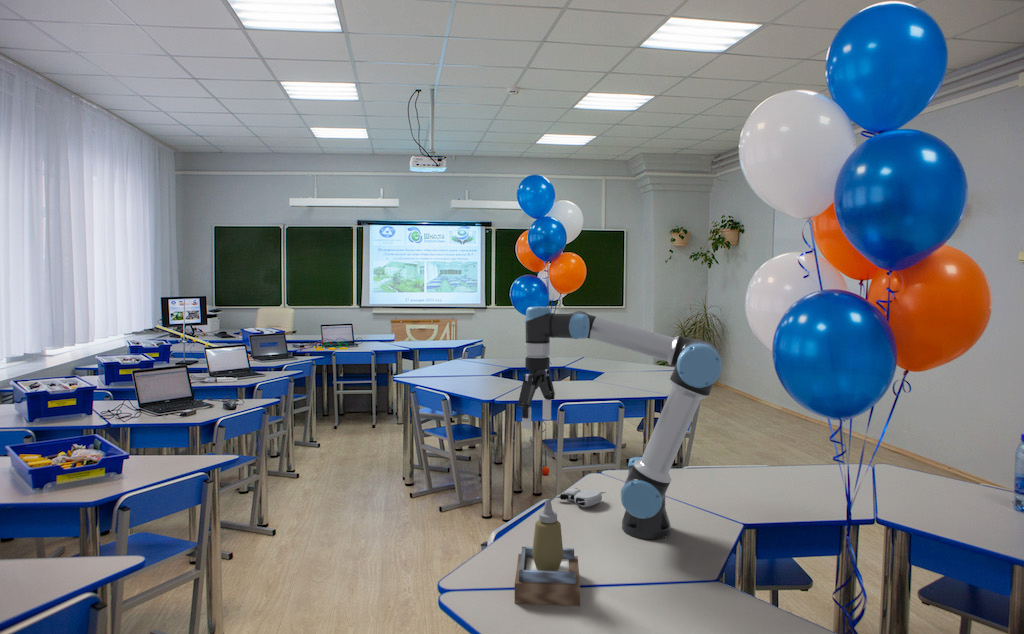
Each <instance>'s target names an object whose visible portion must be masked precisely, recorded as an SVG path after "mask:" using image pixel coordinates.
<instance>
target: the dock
mask: <svg viewBox="0 0 1024 634" xmlns="http://www.w3.org/2000/svg"><path fill="white" fill-rule="evenodd" d="M532 550H533V546H521V552H520V553H518V556H517V564H516V570H515V580H514V604H523V605H524V604H525V605H527V604H528V605H548V606H549V605H550V606H551V605H552V606H572V607H574V606H575V607H581V579H580V569H579V567H580V566H579V557H578V555H575V548H574V547H573V548H572V547H571V548H570V547H569V548H568V547H563V558H562V561H561V564H560V567H559V569H558V570H557V571H539V570H538V569H537V568H536V565H535V562H534V559H533V555H532Z"/></svg>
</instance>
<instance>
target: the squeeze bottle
mask: <svg viewBox="0 0 1024 634" xmlns="http://www.w3.org/2000/svg"><path fill="white" fill-rule="evenodd" d="M561 525H562V524H561V522H560V521H559V520H558V513H557V512H556V511H554V510H553V506H552V501H551V499H550V498H546V499H545V502H544V507H543V510H542V511H541V510H540V512H539V513H538V520H537V521H535V525H534V531H533V532H534V535H533V543H532V547H533V550H532V555H533V559H534V562H535V565H536V568H537V569H538V570H539V571H557V570H558V569H559V567H560V564H561V561H562V558H563V548H564V546H563V535H562V526H561Z"/></svg>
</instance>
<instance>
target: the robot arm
mask: <svg viewBox="0 0 1024 634" xmlns="http://www.w3.org/2000/svg"><path fill="white" fill-rule="evenodd" d="M524 323H525V346H524V348H525V355H526V357H525V361H524V362H525V363H524V364H525V369H527V370H528V371H529V372H528V373H524V374H523V379H522V385H521V389H520V393H519V398H518V402H517V406H518V407H520V408H521V428H522V429H524V430H525V429H527V430H531V429H532V407H531V403H532V401H533V399H534V396H535V392H536V390H537V389H538V388H540V392H541V394H542V396H543V399H542V420H546V421H552V400H555V395H556V393H555V388H554V384H553V380H552V376H551V375H552V374H551V373H552V372H551V369H550V364H551V363H550V359H551V358H550V357H549V356H550V355H551V352H550V351H551V350H550V349H551V346H550V344H551V342H550V340H551V338H552V339H556V338H558V339H559V338H560V339H573V340H582V339H590V340H594V341H597V342H600V343H603V344H608V345H611V346H614V347H616V348H617V347H618V348H621V349H625V350H627V351H630V352H631V351H632V352H634V353H637V354H641V355H644V356H648V357H651V358H655V359H657V360H662V361H666V362H668V363H667V364H668V365H669V366H670V367H674V368H673V371H672V373H671V375H670V378H669V381H670V384H671V388H670V391H669V394H668V396H667V399H666V400H665V403H664V406H662V410H661V412H660V415H659V416H658V419H657V422H656V424H655V426H654V428H653V431H652V433H651V435H650V438H649V440H648V443H647V444H646V447H645V449H644V451H643V454H642V456H635V457H631V458H629V459H628V465H627V468H628V472H627V473H628V474H627V475H628V476H627V477H626V478H625V479H626V480H625V482H624V485H623V486H622V488H621V490H620V501H621V504H622V506H623V508H624V511H625V512H624V514H623V516H622V517H623V518H622V522H621V529H622V531H623V532H624V533H625V534H627V535H629V536H631V537H634V538H637V539H643V540H659V539H658V538H661V539H664V538H663V537H665V536H667V535H668V534H669V533H670V534H671V523H670V519H669V516H668V512H667V509H666V493H667V491H668V488H669V486H670V484H671V482H672V478H671V475H670V471H671V468H672V466H673V464H674V461H675V459H676V457H677V454H678V452H679V450H680V447H681V445H682V443H683V441H684V439H685V436H686V433H687V432H688V429H689V427H690V426H691V422H692V421H693V419H694V416H695V413H696V411H697V409H698V408H699V405H700V403H701V400H702V399H706V398H708V397H709V396H710V394H711V392H712V389H713V387H714V384H715V383H716V381H717V380H718V379H719V378H720V376H721V374H722V370H723V361H722V357H721V354H720V351H719V350H718V348H717V347H716V346H715V345H714V344H712V343H711V342H710V341H708V340H707V341H706V340H702V339H695V338H689V337H684V336H681V335H677V336H675V337H672V336H669V335H665V334H661V333H658V332H654V331H650V330H646V329H643V328H640V327H636V326H633V325H629V324H624V323H621V322H617V321H614V320H611V319H607V318H603V317H600V316H595V315H592V314H589V313H587V312H585V311H581V310H577V311H574V312H569V313H554V312H551V308H550V307H548V306H529V307H527V309H526V310H525V321H524ZM670 534H669V535H670ZM669 535H668V536H669ZM668 536H667V537H668ZM665 538H666V537H665Z"/></svg>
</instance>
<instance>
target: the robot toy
mask: <svg viewBox="0 0 1024 634" xmlns="http://www.w3.org/2000/svg"><path fill="white" fill-rule="evenodd" d="M606 493H607V491H602V492H601V491H600V490H596V489H584V490H580V489H579V488H578V487H571V488H568V489H565V490H563V492H562V493H560V494H557V495H556V496H555V498H556V499H560V500H562V501H566V500H567V502H574V504H575V505H577V506H581V507H582V508H583V509H585V508H589V507H590V506H594V505H598V504H599V503H600V502H601V501H602V499H603V495H602V494H606Z"/></svg>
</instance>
